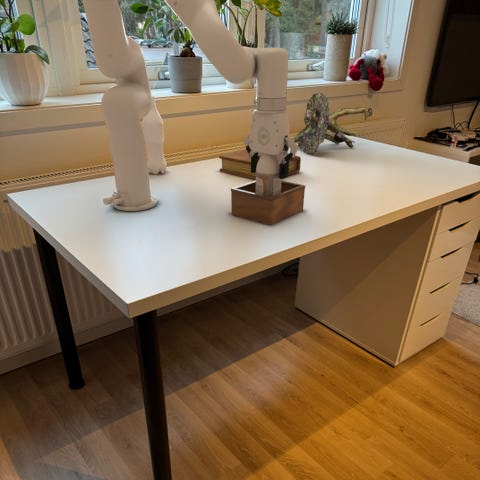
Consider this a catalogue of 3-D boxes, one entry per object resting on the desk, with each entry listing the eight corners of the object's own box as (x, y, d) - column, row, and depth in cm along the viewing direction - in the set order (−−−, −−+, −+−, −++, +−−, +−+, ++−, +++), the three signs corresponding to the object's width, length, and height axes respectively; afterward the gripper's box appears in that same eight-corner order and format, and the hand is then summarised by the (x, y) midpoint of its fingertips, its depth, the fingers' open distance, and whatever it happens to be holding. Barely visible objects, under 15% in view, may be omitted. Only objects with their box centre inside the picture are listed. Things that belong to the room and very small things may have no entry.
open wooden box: (270, 225, 118) (271, 198, 114) (230, 214, 126) (230, 188, 122) (303, 210, 128) (305, 185, 124) (265, 201, 136) (266, 176, 132)
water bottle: (169, 170, 168) (163, 95, 154) (164, 175, 162) (157, 98, 148) (150, 169, 168) (142, 95, 155) (145, 174, 162) (136, 98, 149)
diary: (299, 172, 165) (301, 156, 162) (267, 182, 153) (267, 165, 150) (253, 162, 178) (253, 147, 175) (219, 171, 166) (219, 155, 163)
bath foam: (250, 210, 128) (251, 136, 118) (271, 207, 131) (274, 134, 120) (263, 218, 123) (265, 140, 112) (284, 214, 126) (288, 138, 115)
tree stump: (341, 138, 174) (386, 121, 194) (303, 85, 176) (351, 73, 196) (306, 175, 193) (351, 156, 213) (272, 127, 194) (320, 112, 215)
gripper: (235, 104, 115) (235, 172, 124) (290, 109, 105) (287, 183, 114) (253, 101, 120) (253, 167, 129) (308, 106, 110) (303, 177, 119)
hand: (269, 174), depth 121 cm, fingers open, 9 cm apart
